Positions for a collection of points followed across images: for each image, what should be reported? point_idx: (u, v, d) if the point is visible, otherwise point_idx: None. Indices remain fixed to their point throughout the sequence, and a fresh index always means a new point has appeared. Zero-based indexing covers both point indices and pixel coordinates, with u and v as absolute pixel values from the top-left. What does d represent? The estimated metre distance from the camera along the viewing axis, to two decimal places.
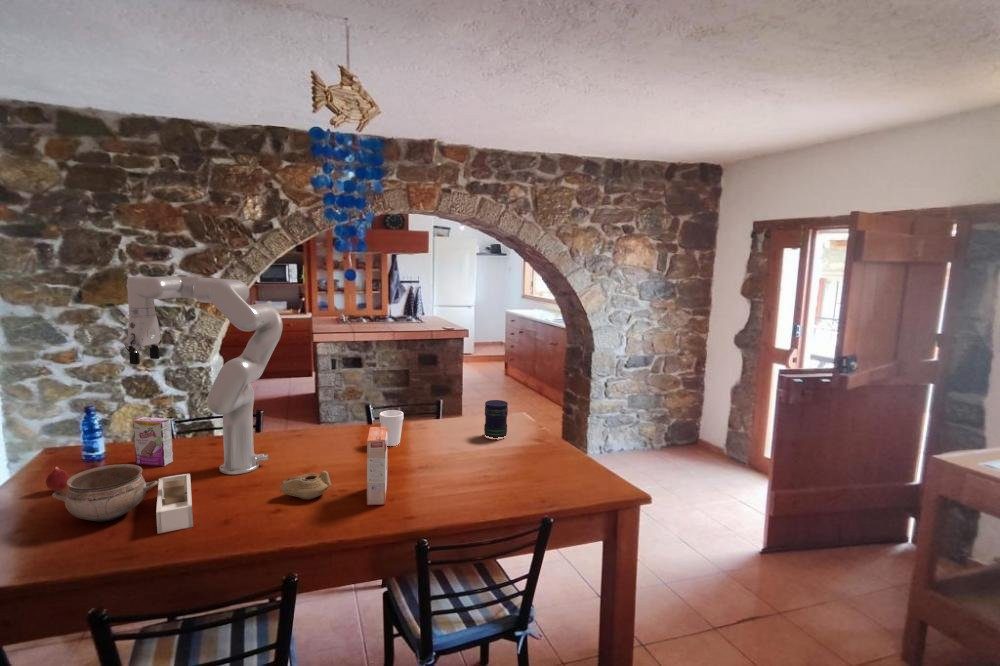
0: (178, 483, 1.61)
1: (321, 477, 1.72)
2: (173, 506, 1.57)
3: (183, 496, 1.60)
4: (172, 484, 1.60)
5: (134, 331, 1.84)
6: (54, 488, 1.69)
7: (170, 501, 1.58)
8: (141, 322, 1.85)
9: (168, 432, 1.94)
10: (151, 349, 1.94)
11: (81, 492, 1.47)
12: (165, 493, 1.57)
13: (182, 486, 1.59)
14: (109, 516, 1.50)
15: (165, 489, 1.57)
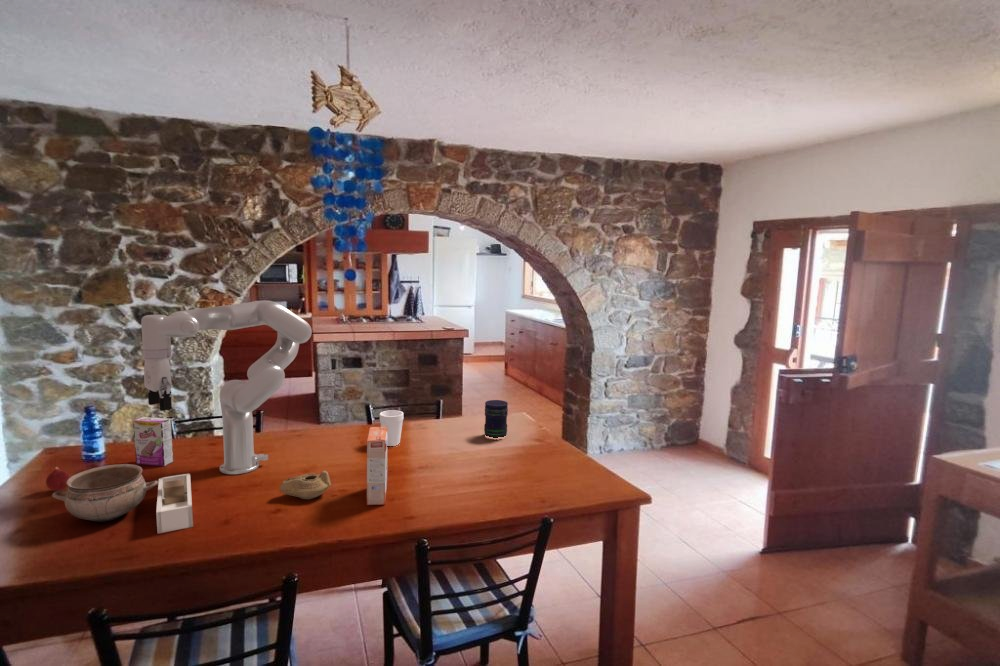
0: (178, 483, 1.61)
1: (321, 477, 1.72)
2: (173, 506, 1.57)
3: (183, 496, 1.60)
4: (172, 484, 1.60)
5: None
6: (54, 488, 1.69)
7: (170, 501, 1.58)
8: None
9: (168, 432, 1.94)
10: None
11: (81, 492, 1.47)
12: (165, 493, 1.57)
13: (182, 486, 1.59)
14: (109, 516, 1.50)
15: (165, 489, 1.57)
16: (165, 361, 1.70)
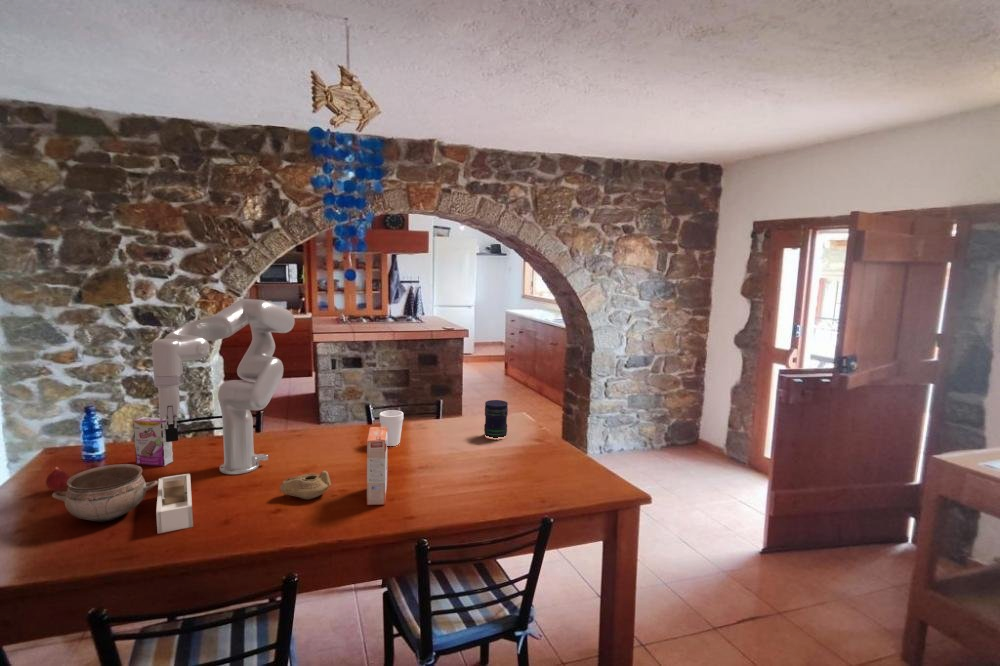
0: (178, 483, 1.61)
1: (321, 477, 1.72)
2: (173, 506, 1.57)
3: (183, 496, 1.60)
4: (172, 484, 1.60)
5: None
6: (54, 488, 1.69)
7: (170, 501, 1.58)
8: None
9: None
10: None
11: (81, 492, 1.47)
12: (165, 493, 1.57)
13: (182, 486, 1.59)
14: (109, 516, 1.50)
15: (165, 489, 1.57)
16: (172, 389, 1.60)
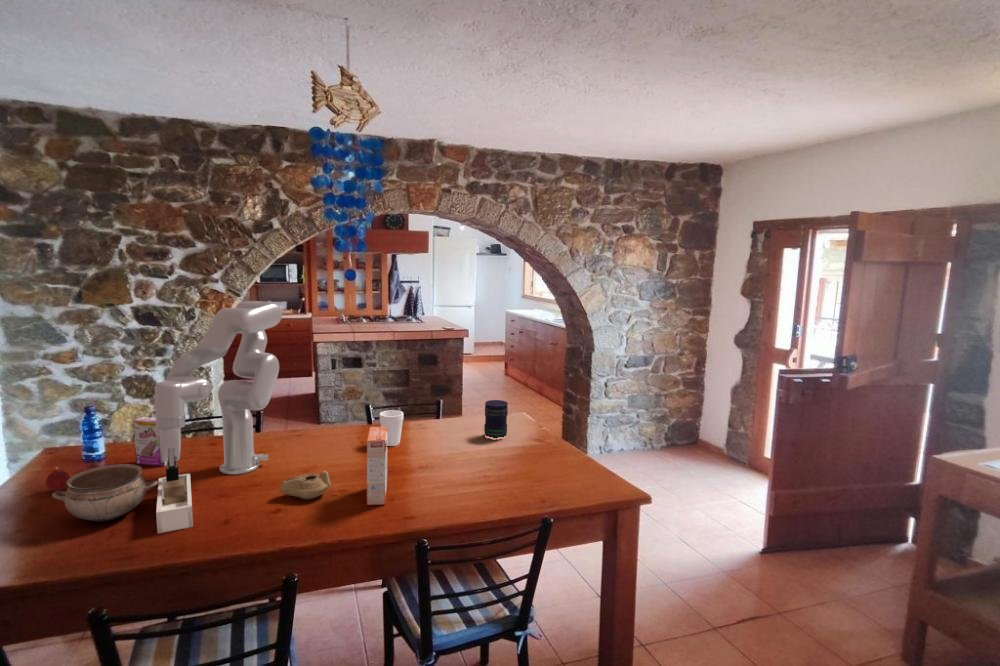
0: (178, 483, 1.61)
1: (321, 477, 1.72)
2: (173, 506, 1.57)
3: (183, 496, 1.60)
4: (172, 484, 1.60)
5: None
6: (54, 488, 1.69)
7: (170, 501, 1.58)
8: None
9: None
10: None
11: (81, 492, 1.47)
12: (165, 493, 1.57)
13: (182, 486, 1.59)
14: (109, 516, 1.50)
15: (165, 489, 1.57)
16: (174, 431, 1.62)
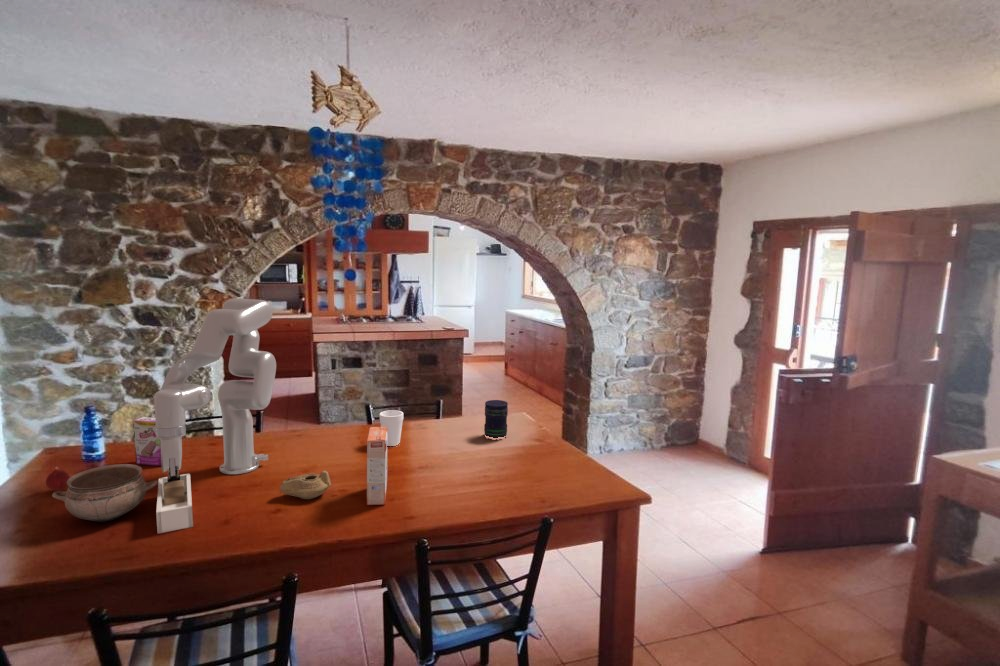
0: (178, 483, 1.60)
1: (321, 477, 1.72)
2: (173, 506, 1.57)
3: (183, 497, 1.59)
4: (172, 485, 1.59)
5: None
6: (54, 488, 1.69)
7: (170, 502, 1.58)
8: None
9: None
10: None
11: (81, 492, 1.47)
12: (165, 494, 1.57)
13: (182, 487, 1.59)
14: (109, 516, 1.50)
15: (165, 490, 1.57)
16: (174, 440, 1.59)
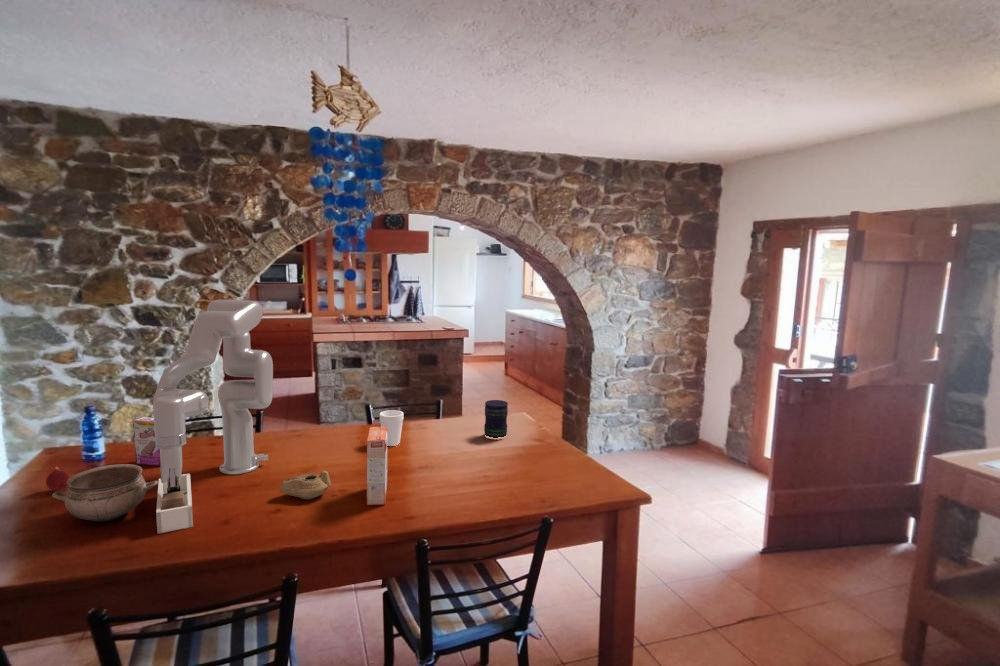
0: (177, 495, 1.53)
1: (321, 477, 1.72)
2: None
3: None
4: (170, 497, 1.52)
5: None
6: (54, 488, 1.69)
7: None
8: None
9: None
10: None
11: (81, 492, 1.47)
12: (162, 506, 1.49)
13: (181, 499, 1.51)
14: (109, 516, 1.50)
15: (163, 502, 1.49)
16: (174, 450, 1.52)
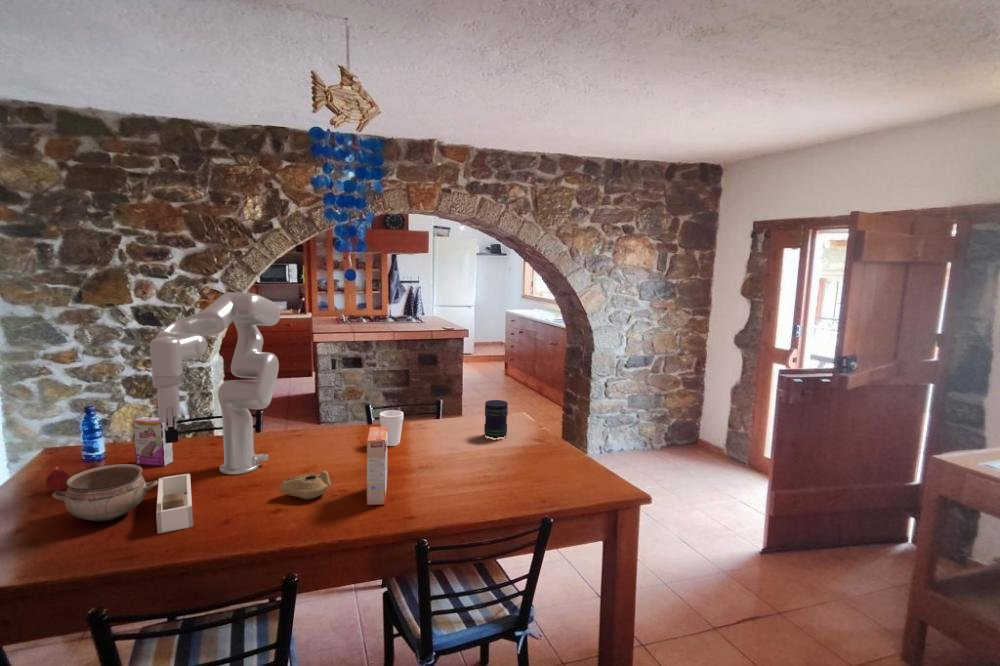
0: (177, 496, 1.52)
1: (321, 477, 1.72)
2: None
3: None
4: (170, 498, 1.51)
5: None
6: (54, 488, 1.69)
7: None
8: None
9: None
10: None
11: (81, 492, 1.47)
12: (163, 508, 1.48)
13: (181, 500, 1.50)
14: (109, 516, 1.50)
15: (163, 503, 1.48)
16: (172, 389, 1.53)
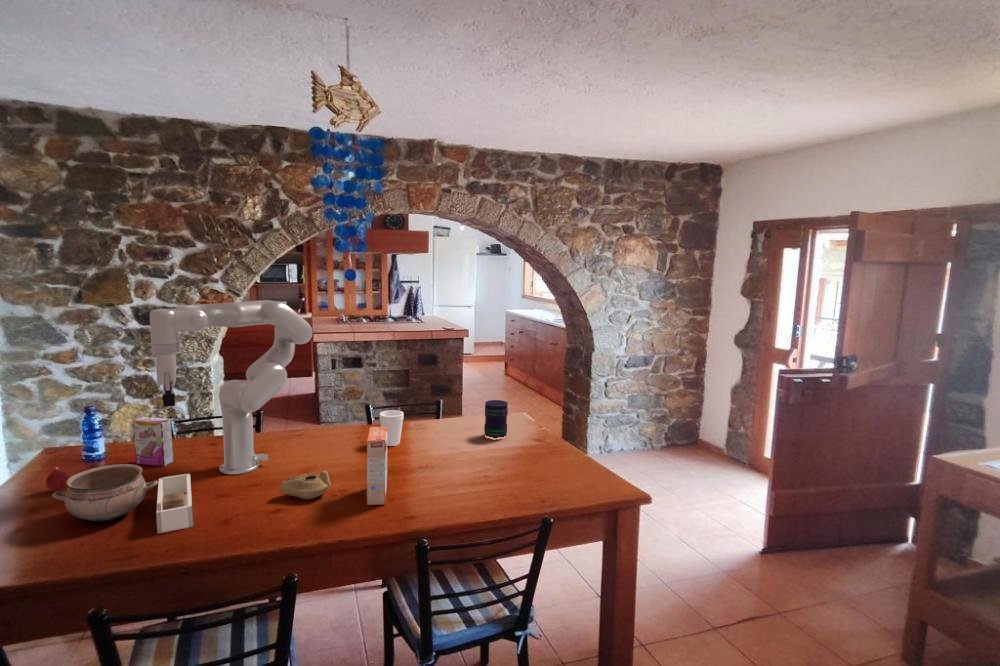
0: (177, 496, 1.52)
1: (321, 477, 1.72)
2: None
3: None
4: (170, 498, 1.51)
5: None
6: (54, 488, 1.69)
7: None
8: None
9: (168, 432, 1.94)
10: None
11: (81, 492, 1.47)
12: (163, 508, 1.48)
13: (181, 500, 1.50)
14: (109, 516, 1.50)
15: (163, 503, 1.48)
16: (169, 356, 1.67)
